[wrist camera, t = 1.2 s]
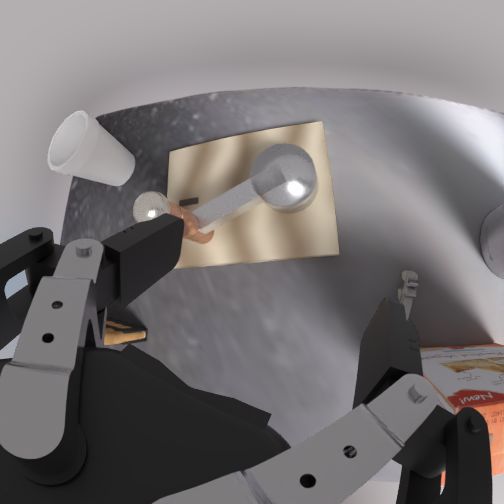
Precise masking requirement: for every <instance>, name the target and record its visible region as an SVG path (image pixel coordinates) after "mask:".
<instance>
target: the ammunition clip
mask: <svg viewBox="0 0 504 504" xmlns="http://www.w3.org/2000/svg"><path fill="white" fill-rule="evenodd" d="M143 341H147V329H146V328H143V327H139V326H135V325H131V324H128V323H124V322H121V321H117V320H114V319H110V318H106V328H105V338H104V345H111V344H118V343H120V344H123V345H125V344H129V343H130V344H131V343H137V342H143Z"/></svg>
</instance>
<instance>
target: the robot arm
mask: <svg viewBox="0 0 504 504" xmlns="http://www.w3.org/2000/svg"><path fill="white" fill-rule="evenodd" d="M183 232H184V220H183V219H182V218H179V217H176V216H174V215H171V214H168V213H164V214H162V215H160V216H158V217H156V218H154V219H152V220H148V221H143V222H139V223H137V224H135V225H133V226H131V227H130V228H127V229H125V230H123V232H122V231H121V232H119V233H117V234H115V235H113V236H111V237H109V238H107V239H105V240H104V241H102V242H98V241H96V240H93V239H78V240H75V241H72V242H70V243H69V244H67V246H62V245H58V244H54V240H53V232H52V231H51V230H50V229H48V228H44V227H37V228H32V229H29V230H26V231H24V232H22V233H20V234H19V235H17V236H15V237H13V238H11V239H9V240H7V241H6V242H3V243H2V244H0V350H1V349H2V348H3V347H5V346H6V345H7V344H8V343H9V342H11V341H12V340H13V339H14V338H15V337H16V336H17V335H19V334H20V333H21V334H20V337H19V340H18V343H17V346H16V350H15V353H14V357H13V358H9V359H0V504H340V503H341V502H343V501H344V500H345V499H346V498H348V497H349V496H350V495H352V494H353V493H354V492H355V491H356V490H358V489H359V488H360V487H361V486H362V485H363V484H365V483H366V482H367V481H368V480H369V479H370V478H372V477H373V476H374V475H375V474H376V473H377V472H378V471H379V470H380V469H381V468H383V467H384V466H385V465H386V464H387V463H388V462H389V461H390V460H391V459H392V460H394V461H396V462H397V463H399V464H401V465H402V471H401V478H400V484H399V490H398V495H397V500H396V504H492V463H491V450H490V439H489V431H488V425H487V422H486V420H485V418H484V417H483V416H482V414H481V413H480V412H479V411H477V410H476V409H474V408H472V407H464V408H462V409H461V410H460V411H459V412H458V413H457V414H455V415H454V414H452V413H451V412H449V411H447V410H446V409H444V408H442V407H441V406H439V405H438V404H437V403H438V396H437V392H436V390H435V388H434V387H433V385H432V384H431V383H430V382H429V381H428V380H427V379H425V378H424V377H423V368H422V360H421V352H420V345H419V344H418V343H419V339H418V333H417V331H416V329H415V327H414V325H413V324H412V322H411V321H408V320H406V313H405V306H404V304H402V303H399V302H396V301H394V300H391V299H389V298H384V299H383V301H382V302H381V304H380V306H379V308H378V310H377V311H376V313H375V315H374V317H373V318H372V320H371V322H370V324H369V325H368V327H367V329H366V331H365V333H364V335H363V338H362V341H361V345H360V355H359V364H358V373H357V381H356V388H355V396H354V402H353V409H352V411H350V412H349V413H347V414H346V415H344V416H343V417H341V418H340V419H338V420H337V421H335V422H334V423H332V424H331V425H329V426H327V427H326V428H324V429H323V430H321V431H319V432H318V433H316V434H314V435H313V436H311V437H309V438H308V439H306V440H304V441H302V442H301V443H299V444H297V445H295V446H294V447H292V448H291V446H290V445H289V444H288V443H287V441H286V440H285V439H284V438H283V437H282V436H281V435H280V434H279V433H277V432H276V431H275V430H274V429H273V428H271V427H270V426H268V425H267V423H268V421H269V419H270V416H271V414H270V413H268V412H265V411H263V410H260V409H258V408H255V407H253V406H250V405H248V404H246V403H243V402H241V401H239V400H237V399H234V398H231V397H226V396H222V395H218V394H214V393H209V392H205V391H202V390H198V389H194V388H191V387H189V386H188V385H186V384H185V383H184V382H183V381H182V380H181V379H179V378H178V377H177V376H176V375H175V374H174V373H173V372H171V371H170V370H169V369H168V368H167V367H166V366H165V365H164V364H162V363H161V362H160V361H159V360H157V359H155V358H153V357H152V356H150V355H148V354H146V353H145V352H143V351H141V350H140V349H138V348H136V347H135V346H133V345H131V344H130V343H129V344H128V345H127V346H126V347H125V348H124V349H123V350H122V351H118V350H114V349H109V348H104V338H105V328H106V318H107V306H108V305H109V304H110V303H111V304H113V305H114V306H116V307H118V308H119V309H121V310H122V309H123V308H125V307H126V306H127V305H128V304H129V303H131V302H132V301H133V300H134V299H136V298H137V297H138V296H139V295H141V294H142V293H143V292H144V291H146V290H147V289H148V288H149V287H151V286H152V285H153V284H154V283H156V282H157V281H158V280H159V279H161V278H162V277H163V276H164V275H166V274H167V273H168V272H170V271H171V270H172V269H173V268H174V267H175V266H176V265H177V263H178V261H179V258H180V255H181V247H182V240H183ZM480 243H481V250H482V254H483V257H484V260H485V262H486V264H487V265H488V267H489V268H490V270H491V271H492V272H493V273H494V274H495V275H497V276H498V277H500V278H502V279H504V203H503V204H502V205H500V206H499V207H497V208H496V209H494V210H493V211H491V212H490V213H489V214H488V215H487V217H486V218H485V220H484V222H483V225H482V228H481V235H480ZM23 270H25V272H26V277H27V281H28V285H27V286H25V287H24V288H22V289H21V290H19V291H18V292H16V293H15V294H14V295H12V296H11V297H9V298H8V299H6V296H5V291H4V289H5V285H6V283H7V281H8V280H9V279H11V278H12V277H14V276H15V275H17V274H18V273H20V272H22V271H23ZM444 471H445V485H444V489H443V492H442V494H441V495H440V490H441V478H442V473H443V472H444Z"/></svg>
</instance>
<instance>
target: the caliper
mask: <svg viewBox="0 0 504 504" xmlns="http://www.w3.org/2000/svg"><path fill="white" fill-rule="evenodd" d="M401 277H402V279H403V281H404V287H403V288H398V300H399V303H402V304H404V306H405V313H406V320H408V318H409V314H410V310H411V306H412V302H413V297H416V289H415V288H416V287H418V286H419V283H418V282H417V279H418V275H417V274H416V273H415V272H413V271H408V270H406V271H403V272H402V273H401Z"/></svg>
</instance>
